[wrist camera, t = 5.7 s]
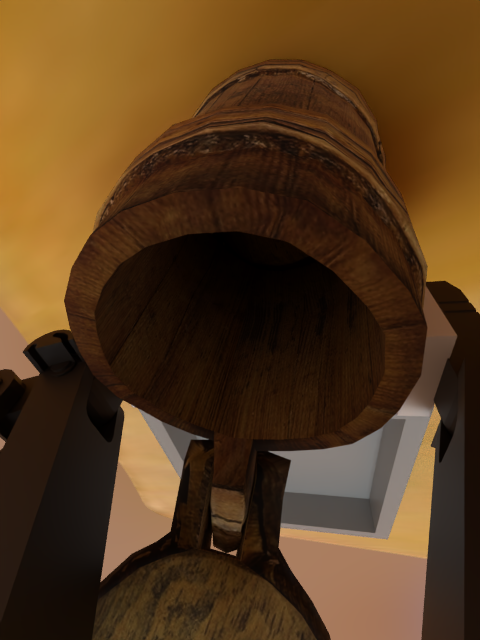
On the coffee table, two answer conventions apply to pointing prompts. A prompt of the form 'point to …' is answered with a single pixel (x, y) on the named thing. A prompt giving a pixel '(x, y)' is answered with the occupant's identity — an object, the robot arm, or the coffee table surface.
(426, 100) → the coffee table surface
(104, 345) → the wooden mug
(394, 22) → the coffee table surface
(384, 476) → the slate tray
